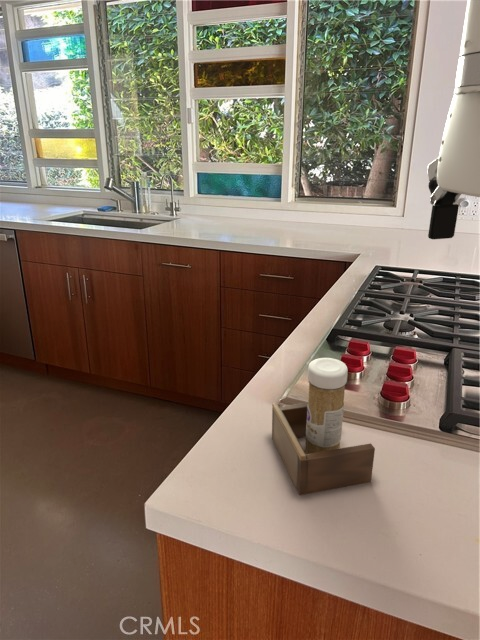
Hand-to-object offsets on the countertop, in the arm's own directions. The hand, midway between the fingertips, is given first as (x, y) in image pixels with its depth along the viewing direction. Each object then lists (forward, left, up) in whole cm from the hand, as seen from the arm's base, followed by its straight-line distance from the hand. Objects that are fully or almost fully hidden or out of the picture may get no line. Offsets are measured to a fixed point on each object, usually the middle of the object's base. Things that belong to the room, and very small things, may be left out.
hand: (467, 247), depth 52 cm
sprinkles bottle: (+16, 0, -26) cm, 31 cm away
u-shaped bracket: (+16, 0, -26) cm, 31 cm away
